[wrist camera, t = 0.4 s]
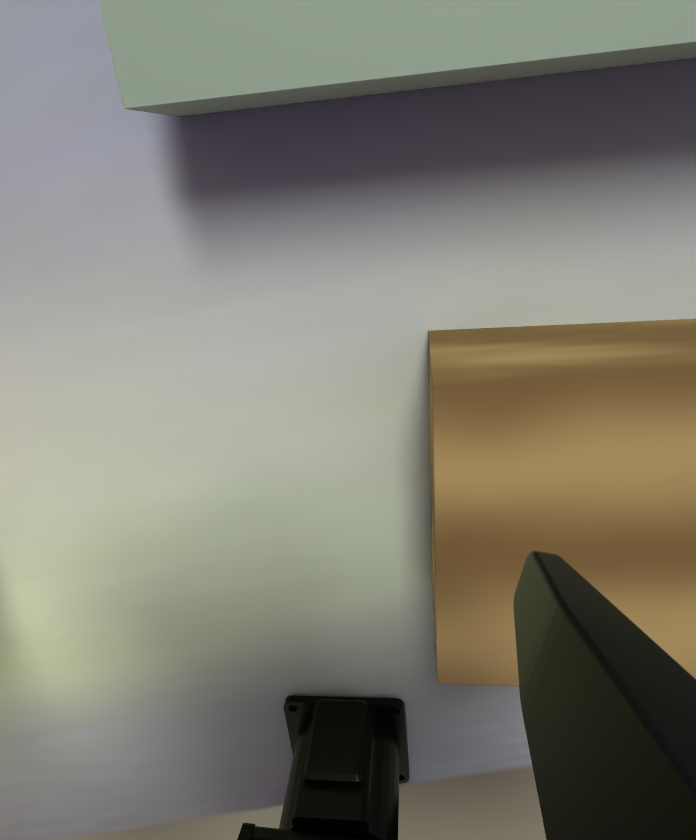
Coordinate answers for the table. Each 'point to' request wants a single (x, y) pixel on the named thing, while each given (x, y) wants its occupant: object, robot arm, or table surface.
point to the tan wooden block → (561, 480)
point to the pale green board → (370, 46)
